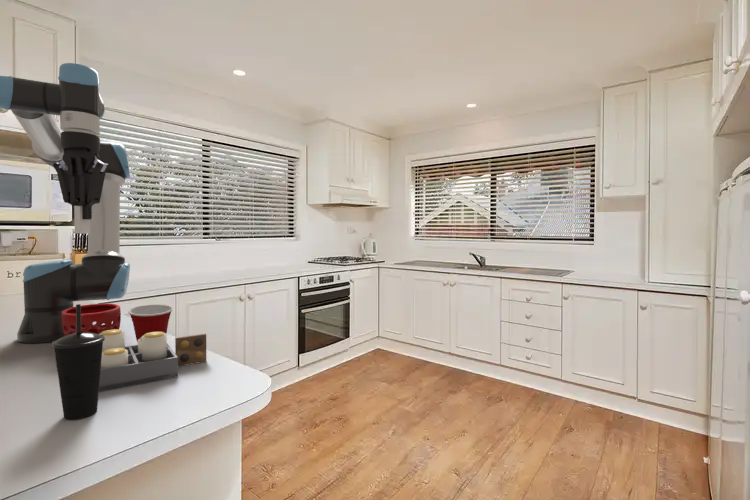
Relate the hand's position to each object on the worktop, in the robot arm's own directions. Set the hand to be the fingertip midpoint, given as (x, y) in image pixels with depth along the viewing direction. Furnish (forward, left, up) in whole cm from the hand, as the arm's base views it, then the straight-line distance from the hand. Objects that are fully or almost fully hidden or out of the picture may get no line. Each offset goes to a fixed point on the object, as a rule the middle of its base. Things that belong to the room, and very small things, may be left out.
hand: (82, 233), depth 95 cm
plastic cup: (-5, +15, -33) cm, 36 cm away
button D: (+16, +13, -28) cm, 35 cm away
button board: (+12, +9, -32) cm, 36 cm away
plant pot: (-14, +2, -33) cm, 36 cm away
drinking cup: (+30, -1, -33) cm, 44 cm away
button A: (+8, +5, -28) cm, 30 cm away
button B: (+8, +13, -31) cm, 34 cm away
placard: (+12, +21, -32) cm, 41 cm away
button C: (+16, +5, -31) cm, 35 cm away
